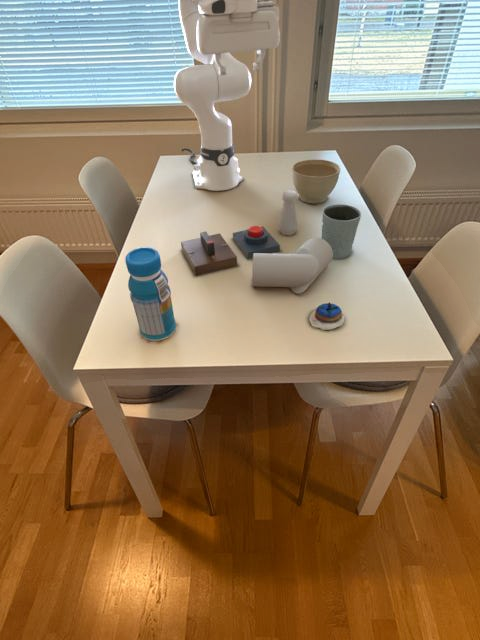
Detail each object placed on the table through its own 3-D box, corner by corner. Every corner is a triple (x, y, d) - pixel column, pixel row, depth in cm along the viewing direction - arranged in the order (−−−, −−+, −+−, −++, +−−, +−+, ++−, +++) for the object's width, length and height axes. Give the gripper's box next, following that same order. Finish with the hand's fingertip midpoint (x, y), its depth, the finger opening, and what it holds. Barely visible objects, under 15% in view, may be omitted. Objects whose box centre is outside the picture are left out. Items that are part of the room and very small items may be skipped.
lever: (201, 243, 114) (199, 231, 112) (207, 242, 115) (206, 230, 112) (208, 255, 109) (207, 243, 107) (214, 254, 110) (214, 242, 107)
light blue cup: (314, 256, 113) (319, 217, 105) (321, 239, 120) (326, 201, 112) (351, 262, 110) (358, 223, 102) (356, 244, 117) (363, 206, 109)
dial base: (181, 250, 117) (180, 241, 115) (220, 242, 120) (219, 232, 118) (195, 276, 107) (194, 266, 105) (237, 266, 111) (236, 256, 108)
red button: (246, 232, 117) (246, 227, 116) (259, 229, 118) (259, 224, 117) (252, 239, 114) (252, 233, 113) (264, 236, 115) (264, 230, 114)
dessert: (341, 305, 95) (344, 298, 90) (343, 332, 94) (347, 327, 88) (307, 307, 96) (308, 300, 90) (309, 334, 95) (311, 329, 89)
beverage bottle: (144, 347, 88) (124, 271, 74) (136, 323, 94) (116, 250, 80) (181, 335, 90) (168, 260, 77) (171, 313, 96) (157, 240, 83)
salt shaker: (295, 237, 121) (299, 197, 112) (277, 236, 122) (278, 195, 113) (297, 228, 125) (300, 188, 117) (279, 227, 126) (281, 187, 118)
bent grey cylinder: (304, 308, 94) (339, 267, 106) (298, 269, 88) (336, 230, 100) (243, 297, 104) (281, 261, 116) (234, 261, 98) (276, 227, 111)
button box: (232, 239, 121) (232, 227, 119) (262, 232, 124) (263, 220, 121) (247, 259, 113) (247, 246, 110) (279, 251, 116) (280, 239, 113)
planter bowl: (336, 189, 146) (340, 159, 139) (336, 209, 134) (340, 177, 127) (292, 187, 148) (293, 157, 141) (288, 207, 136) (290, 175, 129)
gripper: (273, -1, 96) (272, 67, 105) (191, 4, 90) (197, 75, 100) (285, 0, 91) (282, 70, 100) (200, 5, 86) (205, 79, 95)
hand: (239, 73), depth 100 cm, fingers open, 8 cm apart
